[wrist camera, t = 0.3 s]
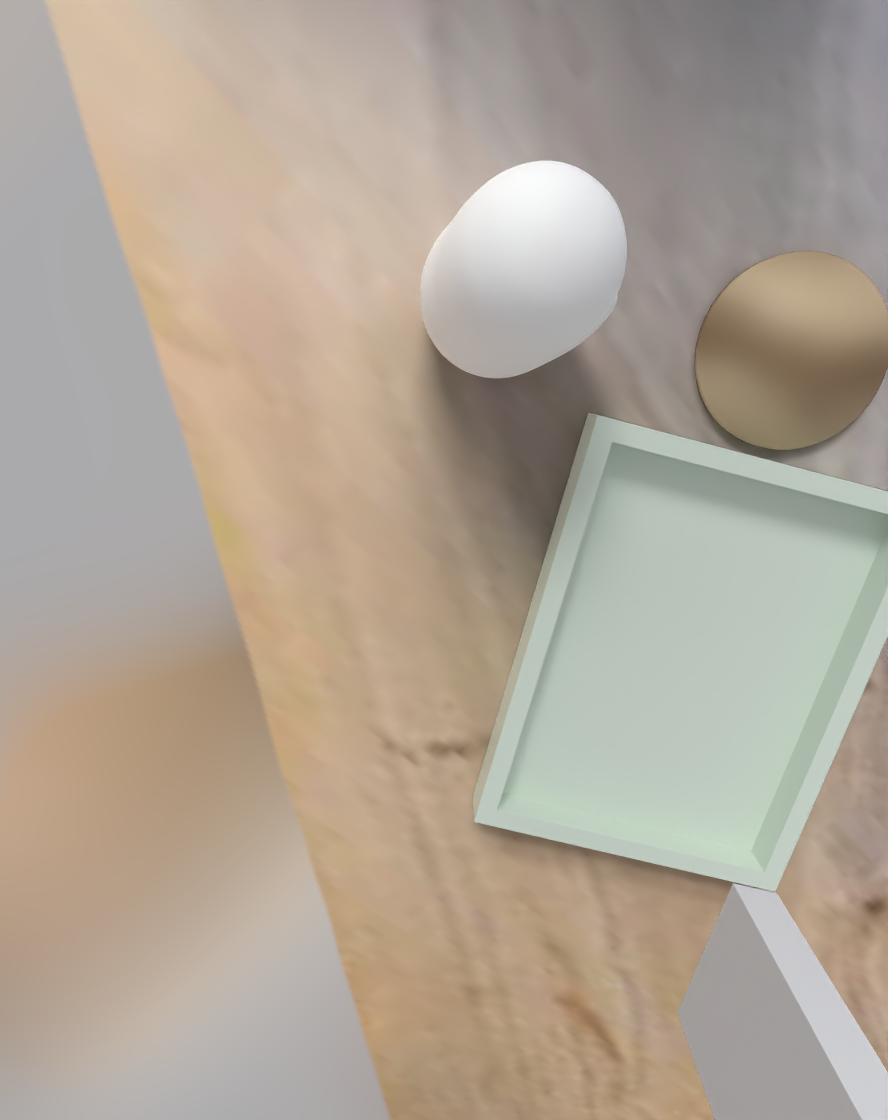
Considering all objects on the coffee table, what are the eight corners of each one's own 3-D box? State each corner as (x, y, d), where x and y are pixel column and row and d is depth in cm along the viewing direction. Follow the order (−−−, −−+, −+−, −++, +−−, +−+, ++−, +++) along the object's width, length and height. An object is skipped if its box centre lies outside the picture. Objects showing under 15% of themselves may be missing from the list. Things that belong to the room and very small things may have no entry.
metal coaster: (702, 254, 33) (706, 252, 33) (898, 251, 33) (905, 249, 32) (688, 449, 35) (691, 450, 35) (871, 447, 35) (877, 448, 35)
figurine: (609, 318, 34) (690, 289, 22) (474, 408, 35) (485, 425, 23) (530, 181, 32) (574, 73, 21) (393, 280, 34) (361, 229, 22)
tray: (588, 412, 35) (597, 414, 33) (912, 497, 36) (944, 506, 33) (472, 796, 40) (474, 821, 38) (757, 862, 41) (775, 891, 39)
